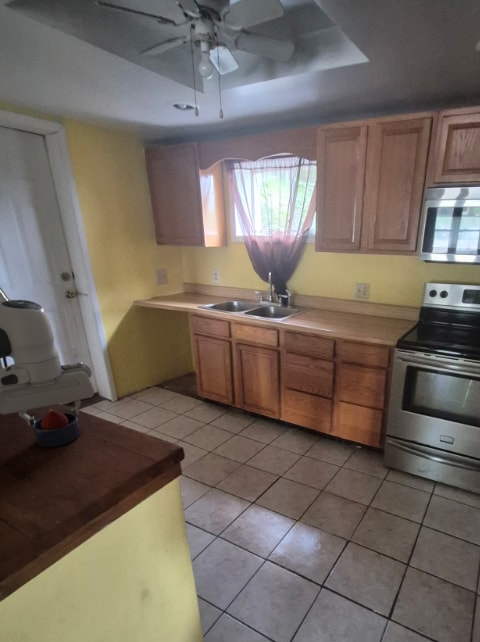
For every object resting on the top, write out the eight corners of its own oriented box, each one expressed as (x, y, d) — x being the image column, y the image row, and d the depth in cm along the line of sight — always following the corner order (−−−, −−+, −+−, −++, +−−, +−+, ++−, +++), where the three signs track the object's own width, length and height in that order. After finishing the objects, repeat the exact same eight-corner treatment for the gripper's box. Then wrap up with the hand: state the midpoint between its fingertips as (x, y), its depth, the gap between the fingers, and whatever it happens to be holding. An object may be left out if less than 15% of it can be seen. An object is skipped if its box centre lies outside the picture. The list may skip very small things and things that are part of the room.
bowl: (28, 449, 92) (23, 431, 90) (51, 428, 101) (46, 412, 99) (69, 448, 92) (64, 430, 90) (88, 428, 101) (84, 412, 99)
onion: (68, 428, 100) (60, 401, 97) (74, 436, 96) (67, 409, 93) (42, 436, 96) (34, 408, 93) (48, 444, 92) (40, 416, 89)
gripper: (87, 357, 96) (98, 405, 102) (-12, 372, 86) (6, 424, 92) (90, 365, 91) (101, 414, 97) (-15, 381, 81) (4, 436, 87)
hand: (54, 419), depth 94 cm, fingers open, 8 cm apart
